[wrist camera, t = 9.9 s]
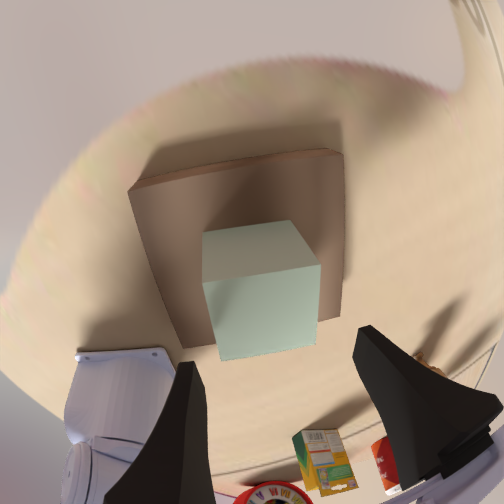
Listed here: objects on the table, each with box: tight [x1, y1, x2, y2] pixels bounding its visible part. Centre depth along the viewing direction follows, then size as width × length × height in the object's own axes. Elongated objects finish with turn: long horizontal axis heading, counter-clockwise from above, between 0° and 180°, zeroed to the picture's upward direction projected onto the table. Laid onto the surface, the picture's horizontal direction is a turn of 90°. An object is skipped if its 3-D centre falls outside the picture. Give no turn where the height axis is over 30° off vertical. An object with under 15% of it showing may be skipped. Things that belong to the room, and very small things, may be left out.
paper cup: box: [371, 436, 402, 495], centre depth 42 cm, size 8×8×14 cm
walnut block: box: [127, 148, 345, 349], centre depth 19 cm, size 12×12×3 cm
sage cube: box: [202, 220, 321, 361], centre depth 15 cm, size 5×5×5 cm
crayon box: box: [292, 429, 359, 497], centre depth 31 cm, size 7×3×12 cm, turn 65°
